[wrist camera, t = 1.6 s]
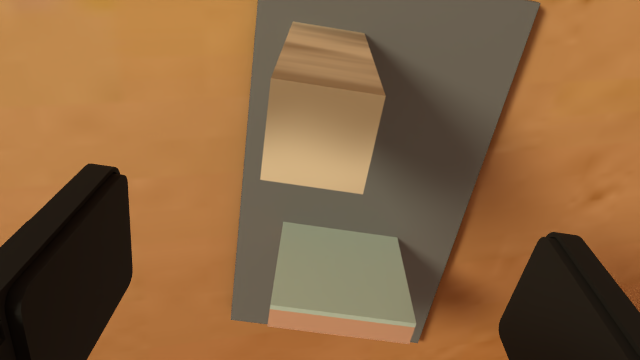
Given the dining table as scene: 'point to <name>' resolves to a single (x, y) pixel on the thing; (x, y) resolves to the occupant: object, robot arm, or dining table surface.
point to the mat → (388, 134)
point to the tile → (341, 284)
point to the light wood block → (322, 110)
